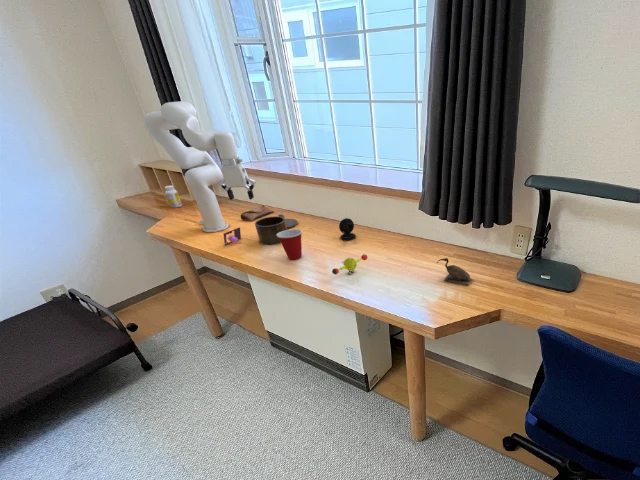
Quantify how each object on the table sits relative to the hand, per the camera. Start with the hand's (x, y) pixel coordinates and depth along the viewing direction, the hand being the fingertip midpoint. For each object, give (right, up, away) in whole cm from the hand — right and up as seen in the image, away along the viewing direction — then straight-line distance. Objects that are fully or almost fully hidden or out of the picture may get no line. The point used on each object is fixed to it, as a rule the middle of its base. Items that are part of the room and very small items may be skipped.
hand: (241, 198), depth 174 cm
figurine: (+99, -41, -33) cm, 113 cm away
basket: (+13, -19, +6) cm, 24 cm away
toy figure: (+58, -38, -26) cm, 74 cm away
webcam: (+51, -18, +5) cm, 54 cm away
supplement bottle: (-70, +11, +57) cm, 91 cm away
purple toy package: (-5, -21, +4) cm, 22 cm away
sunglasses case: (-8, 0, +37) cm, 38 cm away
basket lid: (+12, -8, +22) cm, 26 cm away
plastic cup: (+30, -30, -12) cm, 44 cm away
